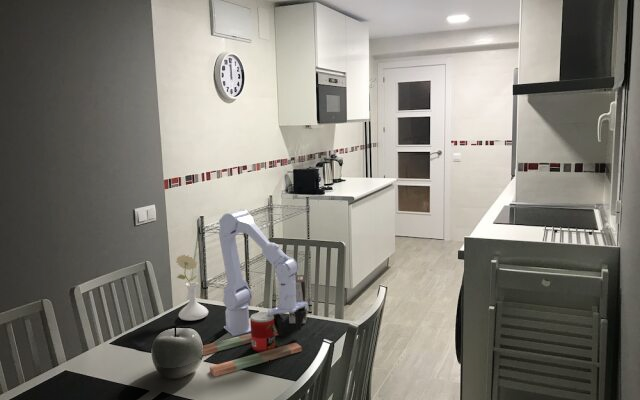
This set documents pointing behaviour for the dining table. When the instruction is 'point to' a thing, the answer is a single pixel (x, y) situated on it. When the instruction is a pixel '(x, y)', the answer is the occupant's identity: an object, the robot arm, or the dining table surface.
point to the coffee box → (299, 295)
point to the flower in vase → (190, 292)
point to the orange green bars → (247, 360)
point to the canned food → (262, 331)
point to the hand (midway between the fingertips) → (289, 332)
